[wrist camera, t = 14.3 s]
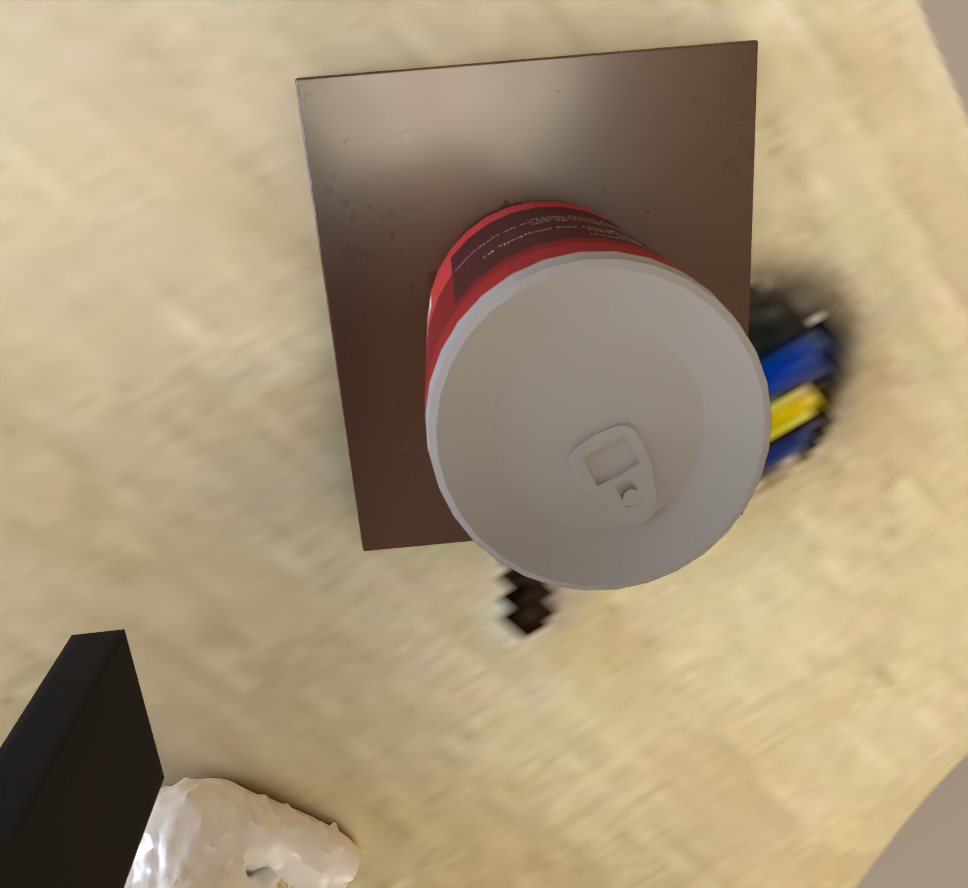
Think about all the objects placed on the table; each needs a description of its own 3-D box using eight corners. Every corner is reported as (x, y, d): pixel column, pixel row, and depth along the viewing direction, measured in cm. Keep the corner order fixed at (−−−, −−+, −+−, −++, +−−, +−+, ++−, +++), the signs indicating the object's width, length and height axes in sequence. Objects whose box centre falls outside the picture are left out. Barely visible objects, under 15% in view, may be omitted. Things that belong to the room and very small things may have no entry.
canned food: (543, 472, 32) (596, 652, 22) (376, 319, 29) (346, 438, 19) (707, 320, 30) (849, 436, 20) (543, 144, 28) (608, 173, 18)
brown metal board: (366, 529, 34) (363, 551, 33) (302, 79, 28) (294, 78, 27) (728, 495, 35) (743, 515, 33) (739, 42, 29) (758, 39, 27)
